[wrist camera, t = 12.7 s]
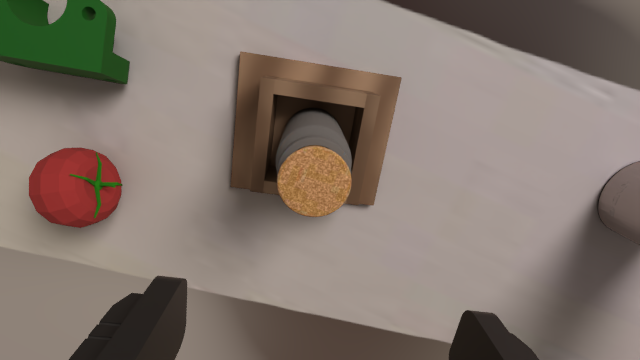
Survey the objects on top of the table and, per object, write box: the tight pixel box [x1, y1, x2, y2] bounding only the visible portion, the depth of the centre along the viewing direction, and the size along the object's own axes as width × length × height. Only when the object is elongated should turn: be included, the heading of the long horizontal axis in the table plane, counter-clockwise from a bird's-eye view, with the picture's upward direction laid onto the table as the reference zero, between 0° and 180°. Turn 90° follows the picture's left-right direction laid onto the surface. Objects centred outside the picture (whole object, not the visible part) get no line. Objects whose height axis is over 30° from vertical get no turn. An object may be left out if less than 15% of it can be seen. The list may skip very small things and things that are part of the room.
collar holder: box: [231, 52, 401, 205], centre depth 33 cm, size 16×14×6 cm
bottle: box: [276, 108, 352, 217], centre depth 28 cm, size 6×6×15 cm
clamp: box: [0, 0, 130, 84], centre depth 30 cm, size 12×6×9 cm, turn 74°
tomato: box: [29, 148, 122, 228], centre depth 34 cm, size 8×8×8 cm
